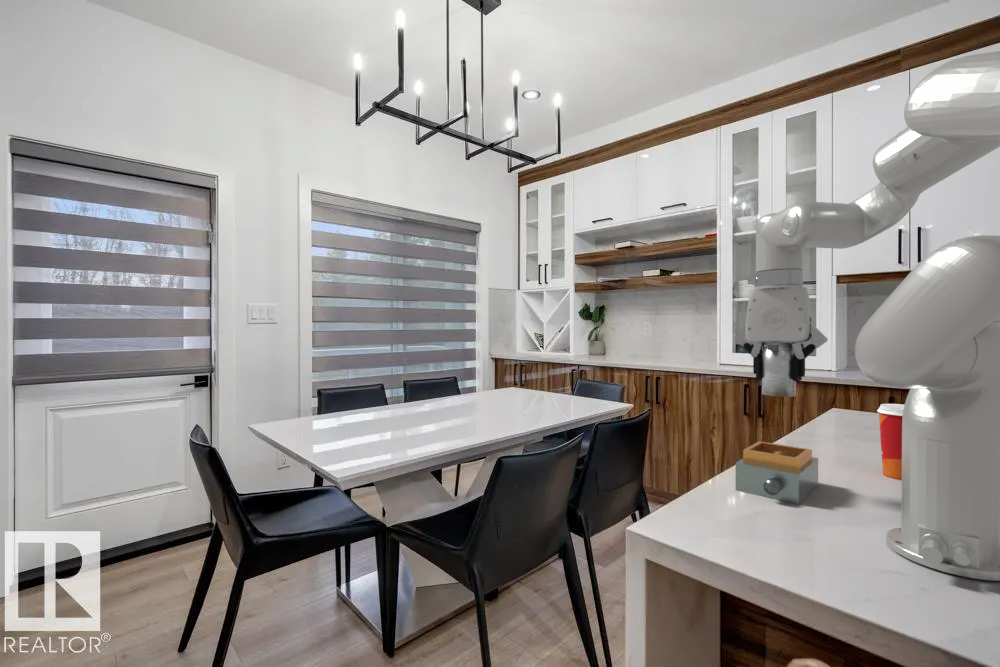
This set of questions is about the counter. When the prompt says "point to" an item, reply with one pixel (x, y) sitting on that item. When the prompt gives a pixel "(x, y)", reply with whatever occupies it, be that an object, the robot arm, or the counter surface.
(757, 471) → the box
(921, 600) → the counter surface
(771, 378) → the spout can
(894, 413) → the paper cup
